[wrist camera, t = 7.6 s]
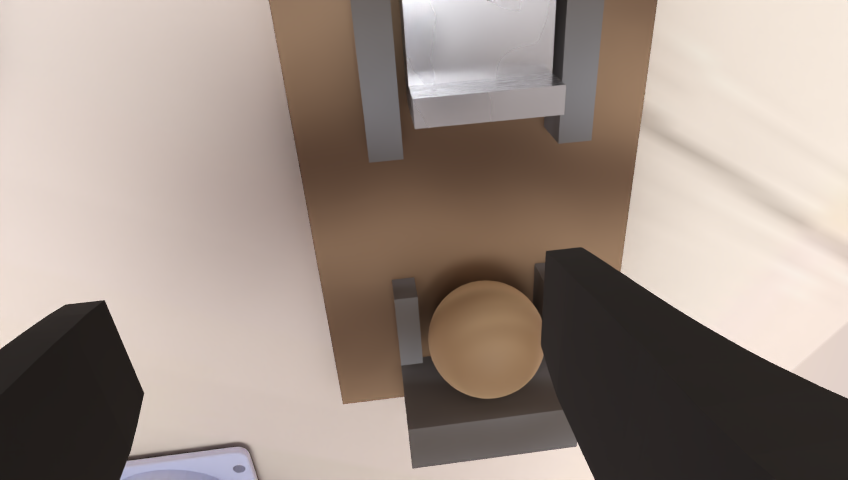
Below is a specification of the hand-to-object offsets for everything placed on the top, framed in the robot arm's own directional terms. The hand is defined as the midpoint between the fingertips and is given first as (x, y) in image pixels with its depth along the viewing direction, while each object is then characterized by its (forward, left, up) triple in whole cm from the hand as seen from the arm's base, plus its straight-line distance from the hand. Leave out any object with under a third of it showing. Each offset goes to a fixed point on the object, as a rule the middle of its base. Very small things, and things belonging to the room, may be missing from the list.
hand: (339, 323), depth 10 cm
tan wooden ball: (-7, -4, -9) cm, 12 cm away
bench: (-2, -4, -10) cm, 11 cm away
